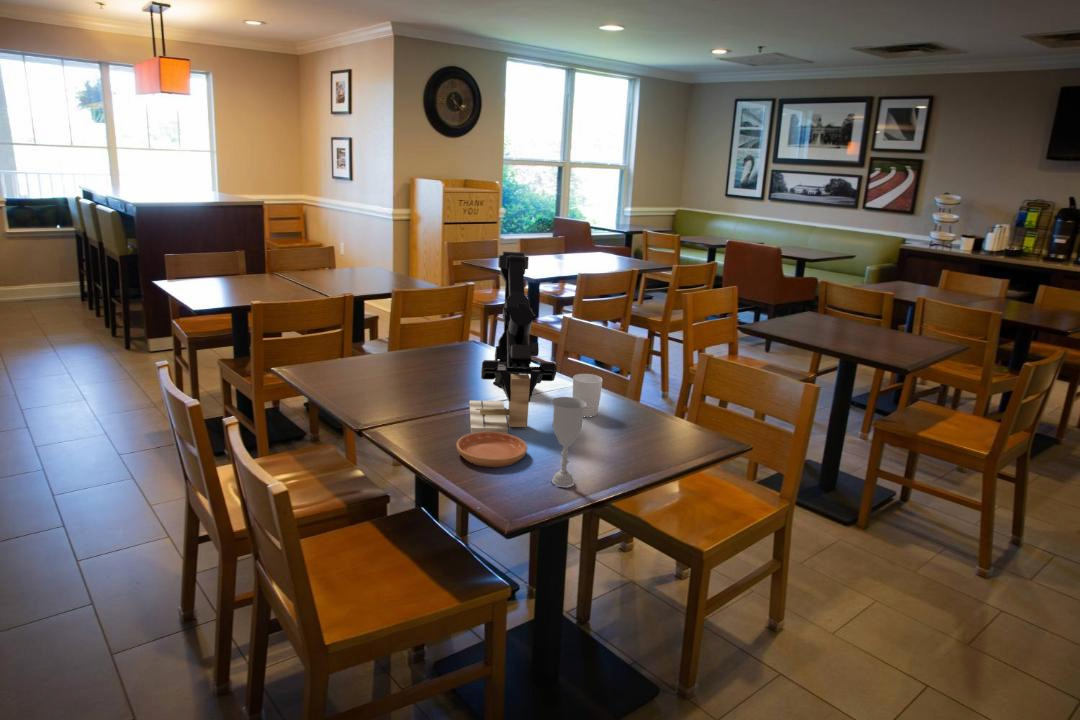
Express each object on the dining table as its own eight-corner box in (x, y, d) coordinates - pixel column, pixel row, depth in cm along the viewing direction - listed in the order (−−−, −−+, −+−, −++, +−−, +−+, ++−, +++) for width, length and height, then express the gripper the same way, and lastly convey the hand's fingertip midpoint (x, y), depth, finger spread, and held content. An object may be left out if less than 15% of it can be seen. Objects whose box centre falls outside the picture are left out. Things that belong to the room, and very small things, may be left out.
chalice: (539, 483, 150) (545, 402, 146) (556, 472, 156) (561, 394, 151) (569, 493, 147) (576, 411, 142) (585, 482, 152) (592, 402, 148)
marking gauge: (479, 420, 181) (481, 373, 178) (525, 421, 183) (528, 374, 179) (479, 426, 178) (482, 378, 174) (527, 427, 179) (530, 379, 176)
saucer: (537, 452, 167) (538, 440, 166) (506, 477, 153) (507, 464, 152) (477, 437, 173) (478, 426, 172) (442, 460, 159) (442, 448, 158)
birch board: (469, 405, 194) (469, 400, 193) (502, 406, 195) (502, 400, 195) (470, 433, 175) (471, 427, 174) (507, 434, 176) (508, 428, 175)
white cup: (603, 418, 191) (606, 382, 189) (575, 418, 189) (577, 382, 187) (594, 408, 199) (597, 373, 196) (566, 408, 197) (569, 373, 194)
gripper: (483, 328, 177) (483, 385, 169) (558, 331, 179) (561, 387, 172) (481, 351, 187) (480, 405, 179) (552, 353, 189) (554, 407, 181)
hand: (519, 401), depth 178 cm, fingers closed on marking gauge, 4 cm apart
